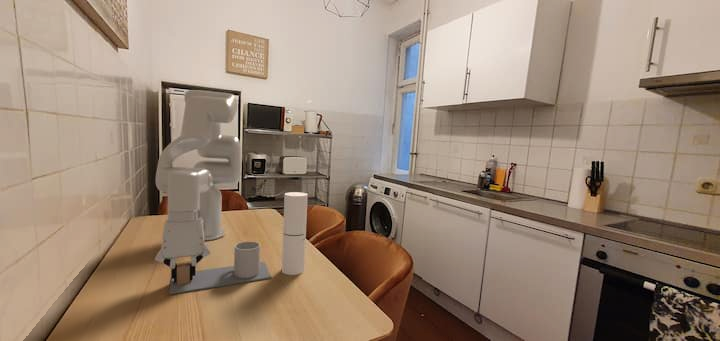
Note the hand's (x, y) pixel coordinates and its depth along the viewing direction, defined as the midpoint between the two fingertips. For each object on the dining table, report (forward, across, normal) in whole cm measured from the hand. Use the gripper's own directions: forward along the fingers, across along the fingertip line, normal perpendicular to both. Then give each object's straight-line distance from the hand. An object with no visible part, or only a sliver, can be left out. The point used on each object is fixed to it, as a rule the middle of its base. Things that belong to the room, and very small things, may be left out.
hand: (183, 278), depth 81 cm
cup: (+1, -16, 0) cm, 16 cm away
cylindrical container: (+1, -31, +3) cm, 31 cm away
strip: (+1, -10, 0) cm, 10 cm away
